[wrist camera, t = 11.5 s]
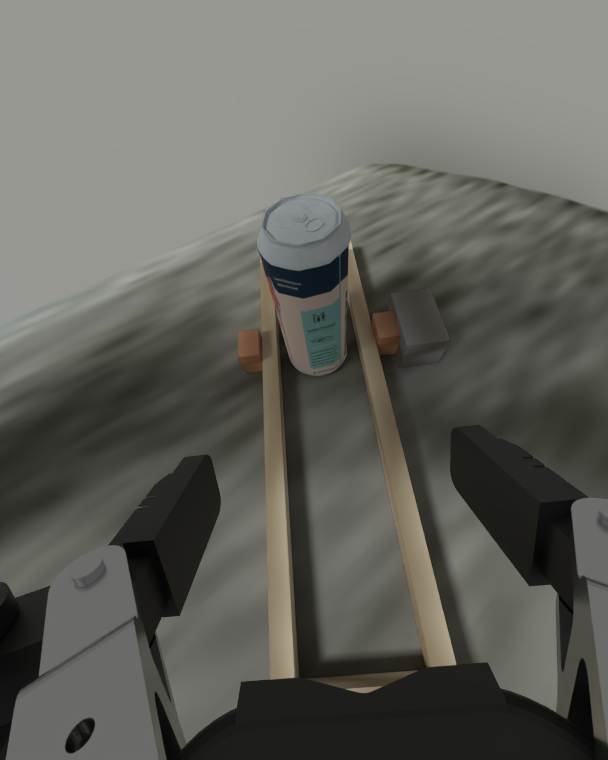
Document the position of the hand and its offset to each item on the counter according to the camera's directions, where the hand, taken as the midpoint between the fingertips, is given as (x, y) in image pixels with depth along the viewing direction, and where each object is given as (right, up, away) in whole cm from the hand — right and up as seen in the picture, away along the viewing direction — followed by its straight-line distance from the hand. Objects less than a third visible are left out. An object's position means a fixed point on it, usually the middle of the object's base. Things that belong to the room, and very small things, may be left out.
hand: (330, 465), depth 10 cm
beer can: (0, +5, +15) cm, 16 cm away
